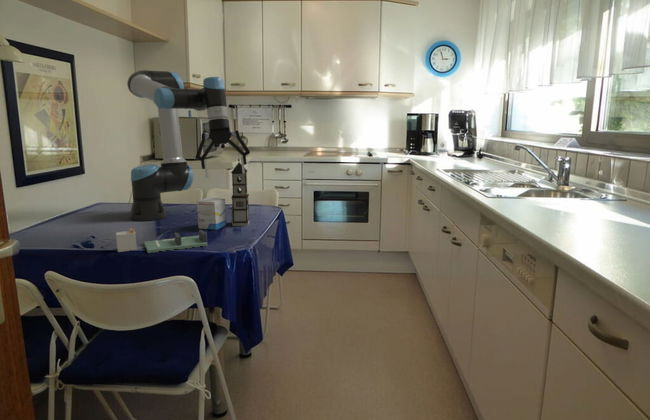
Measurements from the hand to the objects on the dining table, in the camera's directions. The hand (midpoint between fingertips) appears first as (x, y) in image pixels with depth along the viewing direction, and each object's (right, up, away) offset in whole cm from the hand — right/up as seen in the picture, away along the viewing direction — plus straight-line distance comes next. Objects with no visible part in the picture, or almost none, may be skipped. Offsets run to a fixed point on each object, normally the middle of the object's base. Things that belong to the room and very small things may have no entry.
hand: (225, 175), depth 174 cm
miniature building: (+2, -19, +21) cm, 29 cm away
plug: (-31, -27, -15) cm, 44 cm away
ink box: (-9, -20, +16) cm, 27 cm away
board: (-16, -26, -10) cm, 32 cm away
